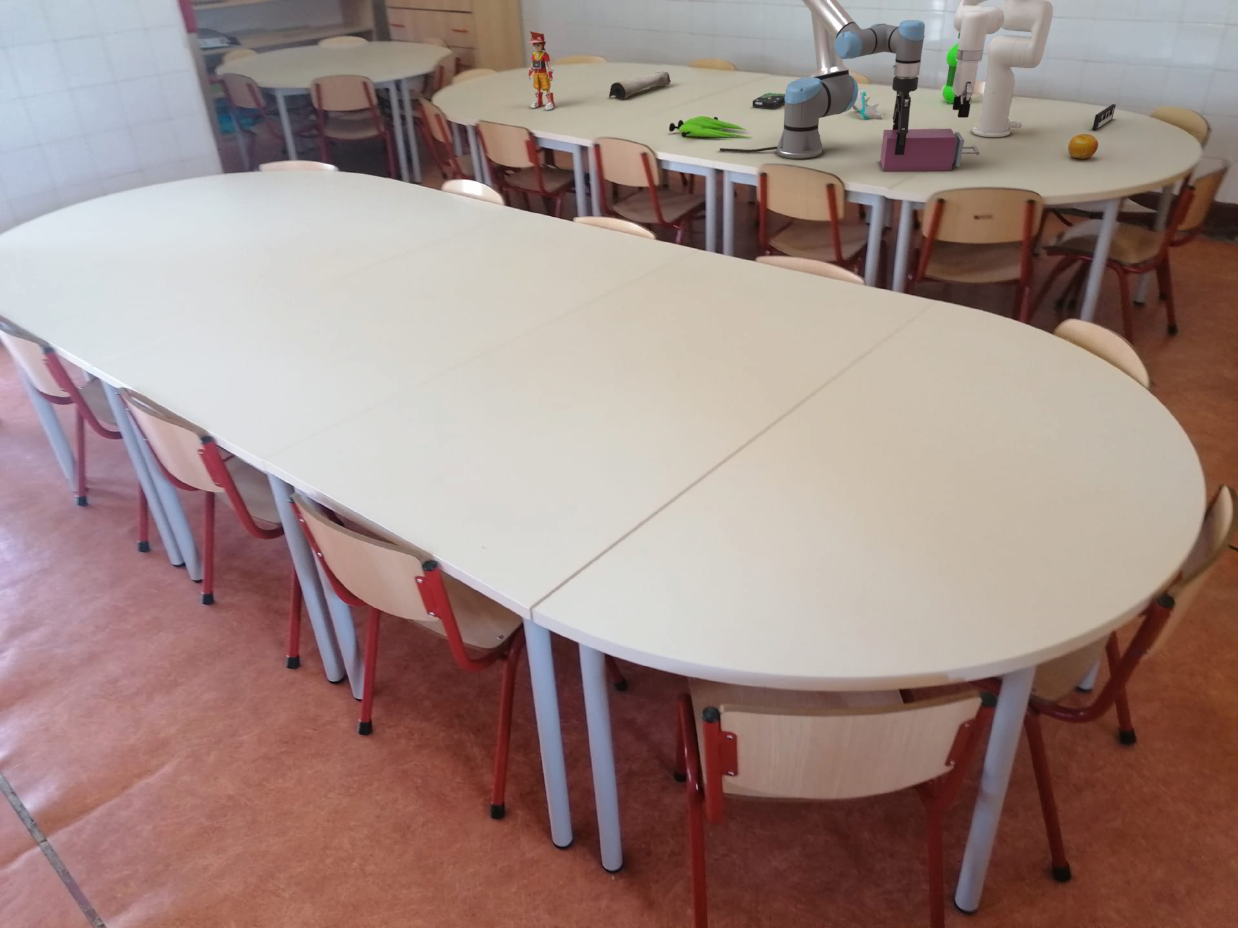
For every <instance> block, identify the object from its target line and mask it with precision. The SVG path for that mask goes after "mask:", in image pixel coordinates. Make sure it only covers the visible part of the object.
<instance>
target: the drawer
mask: <svg viewBox="0 0 1238 928" xmlns="http://www.w3.org/2000/svg"><path fill="white" fill-rule="evenodd" d="M954 134H955V136H956V137H957V138H956V145H955V151H954V157H953V164H954V166H955V167H961V161H962V155H976V156H980V154H981V152H980V150H979V149H978V147H977V145H975V144H974V145H972V146H964V144H965V143H964V142H965V139H964V138H963V136H962V134H961V133H960V132H959V131H955V132H954ZM964 150H972V151H964Z"/></svg>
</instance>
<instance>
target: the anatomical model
mask: <svg viewBox="0 0 1238 928" xmlns="http://www.w3.org/2000/svg"><path fill="white" fill-rule="evenodd" d="M866 96H867V93H866V91H864V90H863V89H862V88H858V96H857V100H856V102H855V103H854V105H853V107H852V109H853V110H854V111H858V112H859V113H860V116H861V118H862V119H864V120H868V119H870V118H881V117H882V116H884V115H883V113H882V112H877V111H876V109H877V108H878V106H880V103H878V102H876V103H873V104H871V105H869V104H868V102H869V100H870V98H871V97H870V96H868V97H866Z"/></svg>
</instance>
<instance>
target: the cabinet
mask: <svg viewBox="0 0 1238 928" xmlns="http://www.w3.org/2000/svg"><path fill="white" fill-rule="evenodd" d="M896 132H898V130H892V129H883V132H882V142H881V149H880V159H879V163H880V165H881V168H882V170H883V172H916V171H918V172H921V171H923V172H924V171H952V168H953V164H954V162H953V157H954V151H955V145H956V138H957V137H956V136H955V132H954V131H953V130H952V128H912V129H911V128H910V129H909V128H908V133H907V134H906V142H905V150H904V155H895V148H896V140H897V134H896Z"/></svg>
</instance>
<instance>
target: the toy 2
mask: <svg viewBox="0 0 1238 928" xmlns="http://www.w3.org/2000/svg"><path fill="white" fill-rule="evenodd" d="M676 129H677V130H678V131H679V133H680V134H681V137H682V138H686V137H707V138H732V137H733V138H748V136H746V135H743V134H738V133H732V132H727V131H724V130H726V129H727V130H728V129H731V130H741V131H747V129H746V128H743V127H742V126H739V125H736V124H733V123H730V122H726V121H722V120H719V118H718V117H717V116H714V117H713V118H711V117H709V116H705V115H704V116H703V115H701V116H696V117H694V118H690V119H687V120H685V121H683V120H682V119H679V120H678V122H677V125H676V124H675V123H674V122H670V124H669V127H668V131H669V132H671V133H672V132H674V131H675V130H676Z"/></svg>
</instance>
